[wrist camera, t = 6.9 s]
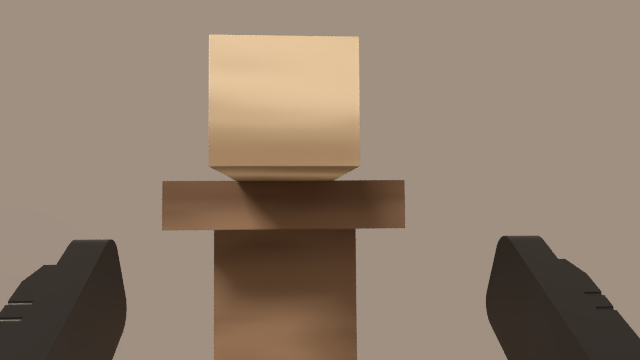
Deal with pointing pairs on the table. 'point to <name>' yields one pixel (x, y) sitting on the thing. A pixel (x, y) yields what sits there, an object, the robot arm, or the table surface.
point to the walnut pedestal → (284, 260)
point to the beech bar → (284, 107)
